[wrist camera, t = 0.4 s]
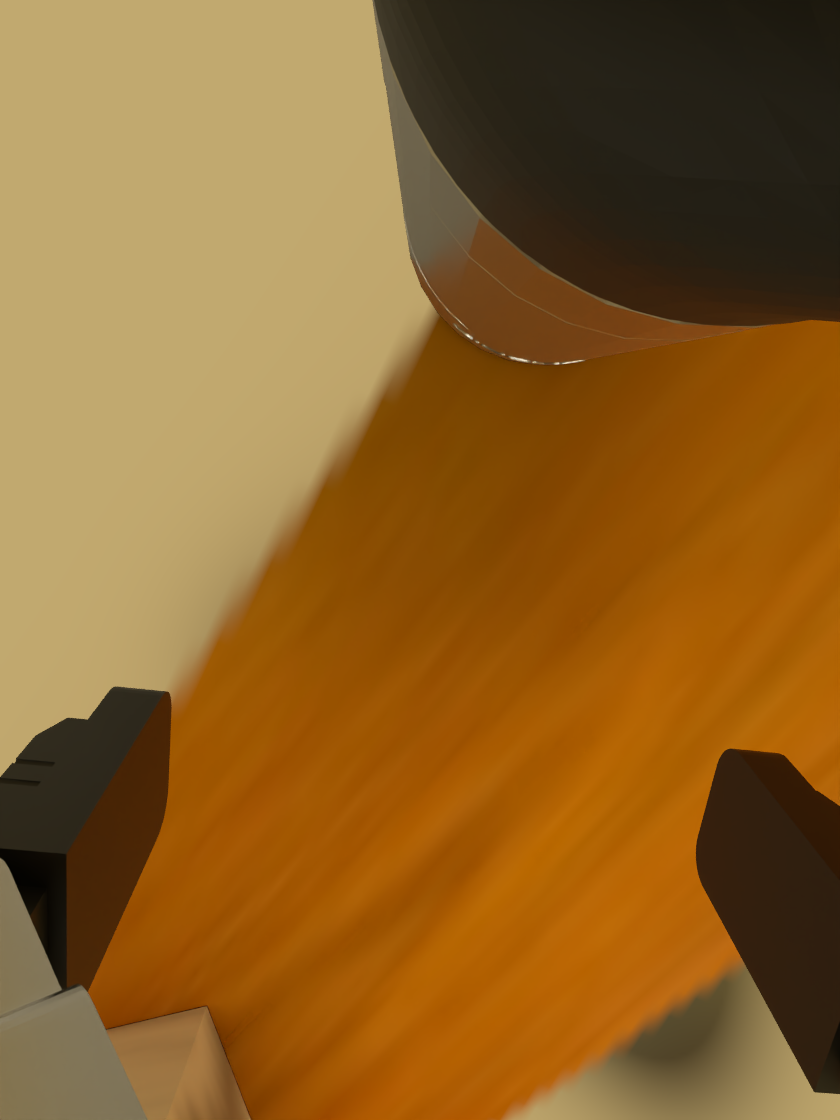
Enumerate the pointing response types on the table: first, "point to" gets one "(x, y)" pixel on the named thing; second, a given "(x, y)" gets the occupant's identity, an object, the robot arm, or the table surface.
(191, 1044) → the tall patterned tan block
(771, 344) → the table surface
